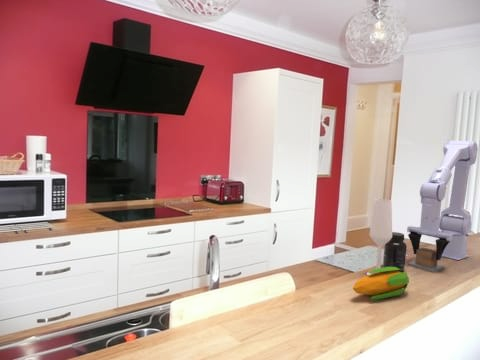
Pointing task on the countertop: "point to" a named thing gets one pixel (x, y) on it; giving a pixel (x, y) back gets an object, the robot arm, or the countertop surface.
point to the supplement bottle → (395, 252)
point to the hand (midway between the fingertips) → (426, 256)
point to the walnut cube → (426, 257)
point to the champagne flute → (381, 225)
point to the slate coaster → (431, 269)
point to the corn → (382, 283)
